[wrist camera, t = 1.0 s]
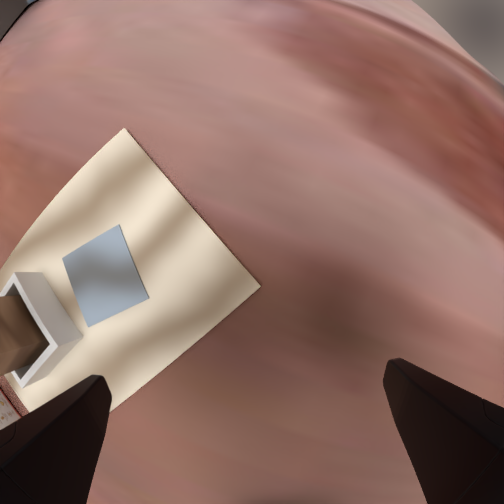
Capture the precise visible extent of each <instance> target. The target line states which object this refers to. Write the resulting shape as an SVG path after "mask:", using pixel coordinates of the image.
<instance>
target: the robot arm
mask: <svg viewBox="0 0 504 504" xmlns="http://www.w3.org/2000/svg"><path fill="white" fill-rule="evenodd" d="M383 386H384V389H385V392H386V396H387V399H388V402H389V405H390V408H391V412H392V415H393V418H394V421H395V424H396V427H397V429H398V431H399V434H400V436H401V438H402V441H403V443H404V445H405V448H406V450H407V453H408V455H409V457H410V460H411V462H412V465H413V467H414V470H415V472H416V475H417V477H418V480H419V482H420V485H421V488H422V490H423V493H424V495H425V498H426V501H427V504H504V408H503V407H501V406H498V405H496V404H494V403H492V402H489V401H487V400H485V399H482V398H481V397H479V396H477V395H475V394H473V393H471V392H468V391H466V390H464V389H462V388H460V387H458V386H456V385H454V384H452V383H450V382H448V381H446V380H444V379H442V378H440V377H438V376H436V375H434V374H432V373H430V372H428V371H426V370H424V369H422V368H420V367H418V366H416V365H414V364H412V363H410V362H408V361H406V360H404V359H402V358H395V359H391V360H389V361H388V362H387V365H386V370H385V374H384V378H383ZM111 403H112V394H111V391H110V389H109V387H108V384H107V382H106V379H105V378H104V376H102V375H95V374H92V375H90V376H88V377H87V378H85V379H83V380H82V381H80V382H79V383H77V384H75V385H74V386H72V387H71V388H69V389H67V390H66V391H64V392H63V393H61V394H59V395H58V396H56V397H54V398H53V399H51V400H49V401H48V402H46V403H45V404H43V405H41V406H40V407H38V408H36V409H35V410H33V411H31V412H30V413H28V414H26V415H25V416H23V417H22V418H20V419H18V420H17V421H15V422H13V423H11V424H10V425H8V426H6V427H5V428H3V429H1V430H0V504H86V502H87V498H88V494H89V490H90V487H91V483H92V479H93V475H94V472H95V468H96V465H97V461H98V458H99V454H100V451H101V448H102V444H103V441H104V437H105V433H106V428H107V422H108V417H109V412H110V408H111Z"/></svg>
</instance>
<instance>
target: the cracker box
mask: <svg viewBox="0 0 504 504" xmlns="http://www.w3.org/2000/svg"><path fill="white" fill-rule="evenodd" d="M20 418H22V417H21V416H20V415H19V413H18V412H17V411H16V409H15V408H14V407H13V405H12V404H11V403H10V401H9V400H8V399H7V397H6V396H5V394H4V393H3V392H2V390H1V389H0V430H1V429H3V428H5V427H6V426H8V425H10V424H11V423H13V422H15V421H17V420H18V419H20Z"/></svg>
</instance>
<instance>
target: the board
mask: <svg viewBox="0 0 504 504" xmlns="http://www.w3.org/2000/svg"><path fill="white" fill-rule="evenodd" d="M14 272H42V273H43V275H44V277H45V279H46V280H47V282H48V284H49V285H50V287H51V289H52V290H53V292H54V294H55V295H56V297H57V298H58V300H59V302H60V303H61V305H62V306H63V308H64V309H65V311H66V312H67V314H68V315H69V317H70V318H71V320H72V321H73V323H74V324H75V325H76V327H77V328H78V330H79V331H80V333H81V334H82V335H83V338H82V339H81V340H80V341H79V342H78V343H77V344H76V345H75V346H74V347H73V348H72V349H71V351H70V352H69V353H68V354H67V355H66V356H65V357H64V358H63V359H62V360H61V361H60V362H59V363H58V364H57V365H56V367H55V368H54V369H53V370H52V371H51V372H50V373H49V374H48V375H47V376H46V377H45V378H43V379H41V380H39V381H37V382H35V383H33V384H31V385H29V386H27V387H25V388H21V387H20V385H19V384H18V382H17V381H16V379H15V378H14V376H13V374H12V373H11V372H10V373H7V374H5V375H4V376H5V377H6V379H7V381H8V382H9V384H10V385H11V387H12V388H13V390H14V391H15V393H16V394H17V396H18V397H19V399H20V400H21V401H22V403H23V404H24V406H25V407H26V408H27V410H28V411H29V412H31V411H33V410H35V409H36V408H38V407H40V406H41V405H43V404H45V403H46V402H48V401H49V400H51V399H53V398H54V397H56V396H58V395H59V394H61V393H63V392H64V391H66V390H67V389H69V388H71V387H72V386H74V385H75V384H77V383H79V382H80V381H82V380H83V379H85V378H87V377H88V376H90V375H92V374H95V375H102V376H104V378H105V379H106V382H107V384H108V387H109V389H110V391H111V394H112V403H111V408H110V412H111V411H112V410H113V409H114V408H116V407H117V406H118V405H120V404H121V403H122V402H123V401H125V400H126V399H127V398H128V397H130V396H131V395H132V394H133V393H135V392H136V391H137V390H138V389H140V388H141V387H142V386H143V385H145V384H146V383H147V382H148V381H150V380H151V379H152V378H153V377H154V376H156V375H157V374H158V373H159V372H161V371H162V370H163V369H164V368H165V367H167V366H168V365H169V364H170V363H172V362H173V361H174V360H175V359H176V358H178V357H179V356H180V355H181V354H182V353H184V352H185V351H186V350H187V349H188V348H190V347H191V346H192V345H193V344H194V343H196V342H197V341H198V340H199V339H200V338H202V337H203V336H204V335H205V334H206V333H207V332H209V331H210V330H211V329H212V328H213V327H214V326H216V325H217V324H218V323H219V322H220V321H222V320H223V319H224V318H225V317H226V316H227V315H229V314H230V313H231V312H232V311H233V310H234V309H235V308H237V307H238V306H239V305H240V304H241V303H242V302H244V301H245V300H246V299H247V298H248V297H249V296H250V295H252V294H253V293H254V292H255V291H256V290H257V289H258V288H260V287H261V286H260V285H259V284H258V282H257V281H256V280H255V279H254V278H253V277H252V276H251V274H250V273H249V272H248V271H247V270H246V269H245V268H244V267H243V265H242V264H241V263H240V262H239V261H238V260H237V259H236V257H235V256H234V255H233V254H232V253H231V252H230V251H229V249H228V248H227V247H226V246H225V245H224V244H223V243H222V241H221V240H220V239H219V238H218V237H217V236H216V235H215V233H214V232H213V231H212V230H211V229H210V228H209V227H208V225H207V224H206V223H205V222H204V221H203V220H202V218H201V217H200V216H199V215H198V214H197V213H196V211H195V210H194V209H193V208H192V207H191V206H190V205H189V203H188V202H187V201H186V200H185V199H184V198H183V196H182V195H181V194H180V193H179V192H178V191H177V189H176V188H175V187H174V186H173V185H172V184H171V182H170V181H169V180H168V179H167V178H166V177H165V175H164V174H163V173H162V172H161V171H160V169H159V168H158V167H157V166H156V165H155V164H154V162H153V161H152V160H151V159H150V158H149V156H148V155H147V154H146V153H145V152H144V151H143V149H142V148H141V147H140V146H139V145H138V143H137V142H136V141H135V140H134V139H133V137H132V136H131V135H130V134H129V133H128V131H127V130H126V129H125V128H124V129H122V130H121V131H120V132H119V133H118V134H117V135H116V136H115V137H113V138H112V139H111V140H110V141H109V142H108V143H107V144H106V145H105V146H104V147H103V148H102V149H101V150H99V151H98V152H97V153H96V154H95V155H94V156H93V157H92V158H91V159H90V160H89V161H88V162H87V163H86V164H85V165H84V166H83V167H82V168H81V169H80V170H79V171H78V173H77V174H76V175H75V176H74V177H73V178H72V179H71V180H70V181H69V182H68V183H67V184H66V185H65V187H64V188H63V189H62V190H61V191H60V192H59V193H58V194H57V196H56V197H55V198H54V199H53V200H52V201H51V203H50V204H49V205H48V206H47V207H46V209H45V210H44V211H43V212H42V213H41V215H40V216H39V217H38V218H37V220H36V221H35V222H34V223H33V225H32V226H31V227H30V229H29V230H28V231H27V233H26V234H25V235H24V237H23V238H22V239H21V241H20V242H19V243H18V245H17V246H16V248H15V249H14V251H13V252H12V253H11V255H10V256H9V258H8V259H7V261H6V262H5V264H4V265H3V267H2V268H1V270H0V293H1V291H2V289H3V288H4V286H5V285H6V283H7V282H8V280H9V279H10V277H11V276H12V274H13V273H14Z"/></svg>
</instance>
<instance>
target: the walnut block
mask: <svg viewBox="0 0 504 504" xmlns="http://www.w3.org/2000/svg"><path fill="white" fill-rule="evenodd" d="M49 345H50V343H49V342H48V340H47V339H46V337H45V336H44V334H43V333H42V331H41V329H40V328H39V326H38V325H37V323H36V321H35V320H34V318H33V316H32V315H31V313H30V311H29V309H28V308H27V306H26V304H25V302H24V301H23V299H22V297H21V295H13V296H0V376H2V375H5V374H7V373H10V372H12V371H15V370H17V369H20V368H22V367H25V366H27V365H30V364H32V363H35V361H36V360H37V359H38V358H39V357H40V355H41V354H42V353H43V352H44V351H45V350H46V348H47V347H48V346H49Z"/></svg>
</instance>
